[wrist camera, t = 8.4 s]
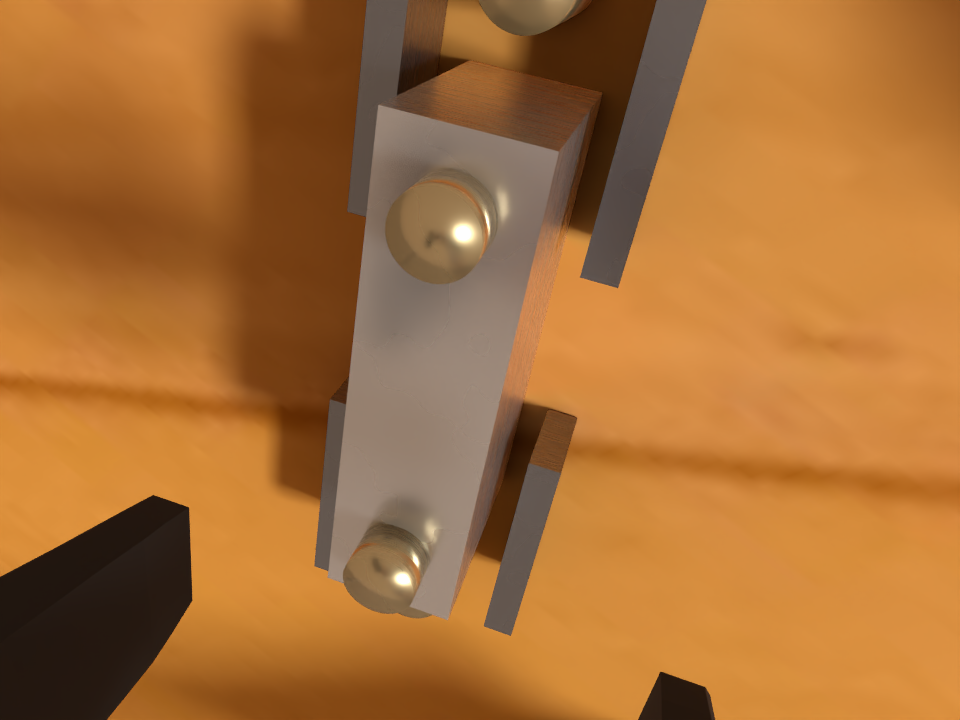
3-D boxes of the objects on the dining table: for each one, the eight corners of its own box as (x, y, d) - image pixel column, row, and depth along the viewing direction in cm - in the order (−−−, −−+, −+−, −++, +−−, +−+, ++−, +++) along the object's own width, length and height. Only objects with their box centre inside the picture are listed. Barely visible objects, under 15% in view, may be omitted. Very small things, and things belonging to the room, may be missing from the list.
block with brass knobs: (504, 477, 22) (434, 654, 17) (407, 445, 22) (308, 609, 17) (603, 91, 16) (547, 167, 11) (471, 59, 17) (353, 117, 11)
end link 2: (528, 575, 23) (505, 652, 21) (349, 513, 24) (306, 580, 22) (577, 417, 20) (557, 485, 18) (368, 353, 21) (321, 409, 18)
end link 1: (629, 246, 18) (615, 297, 15) (389, 180, 18) (337, 218, 16) (719, -47, 14) (719, -44, 12) (424, -110, 15) (367, -120, 13)
